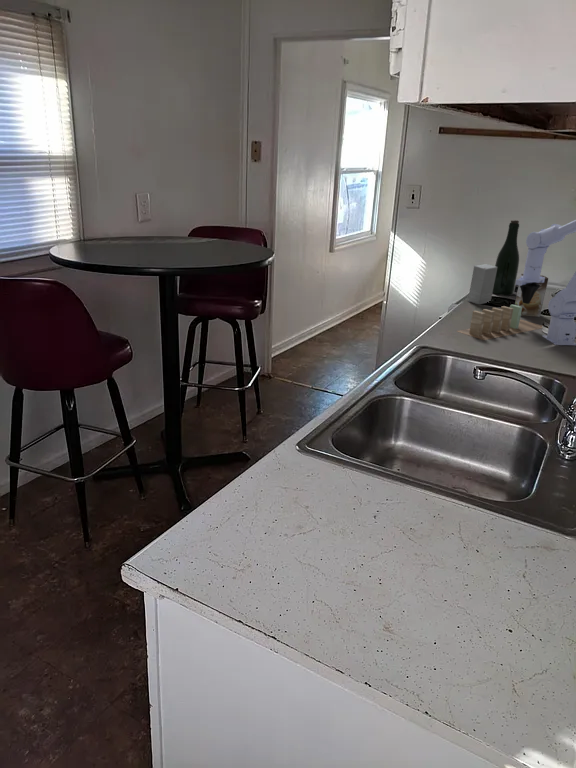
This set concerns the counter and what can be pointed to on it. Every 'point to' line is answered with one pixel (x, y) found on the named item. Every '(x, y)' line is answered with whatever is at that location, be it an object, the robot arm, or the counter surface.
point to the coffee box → (532, 300)
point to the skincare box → (482, 283)
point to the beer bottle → (507, 263)
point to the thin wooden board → (523, 327)
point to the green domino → (515, 316)
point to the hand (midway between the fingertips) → (526, 303)
